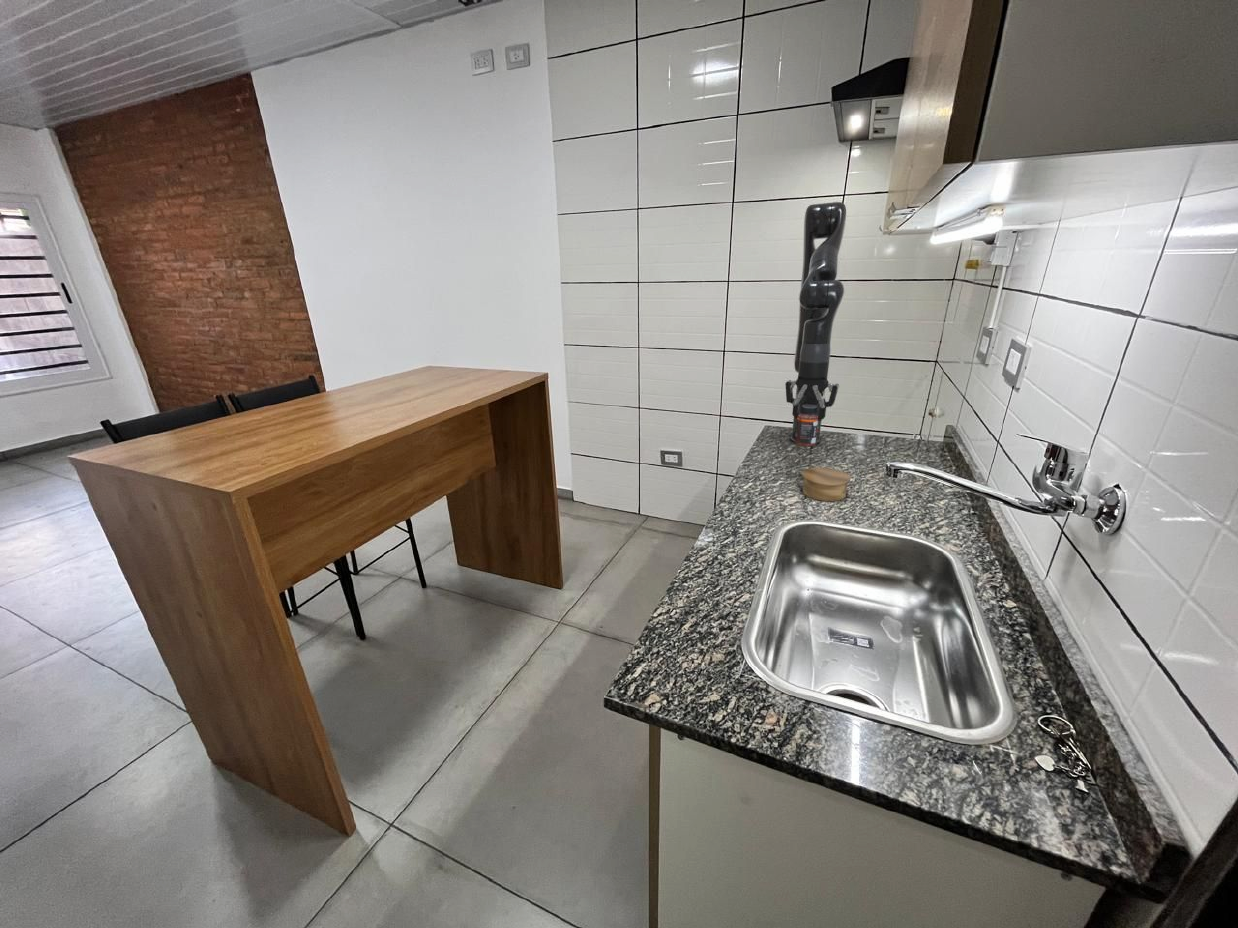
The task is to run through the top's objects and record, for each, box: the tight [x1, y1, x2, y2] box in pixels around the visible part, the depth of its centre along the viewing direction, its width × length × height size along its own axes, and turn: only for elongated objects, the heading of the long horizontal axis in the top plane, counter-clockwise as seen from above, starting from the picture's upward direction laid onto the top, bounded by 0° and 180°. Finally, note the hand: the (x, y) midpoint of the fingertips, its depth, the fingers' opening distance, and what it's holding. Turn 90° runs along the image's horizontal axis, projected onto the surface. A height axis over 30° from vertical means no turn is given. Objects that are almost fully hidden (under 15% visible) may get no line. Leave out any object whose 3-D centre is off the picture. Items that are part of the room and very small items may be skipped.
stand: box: [801, 466, 851, 502], centre depth 131 cm, size 12×12×5 cm
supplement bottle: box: [794, 405, 819, 448], centre depth 137 cm, size 6×6×11 cm
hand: (808, 418), depth 137 cm, fingers closed on supplement bottle, 6 cm apart
